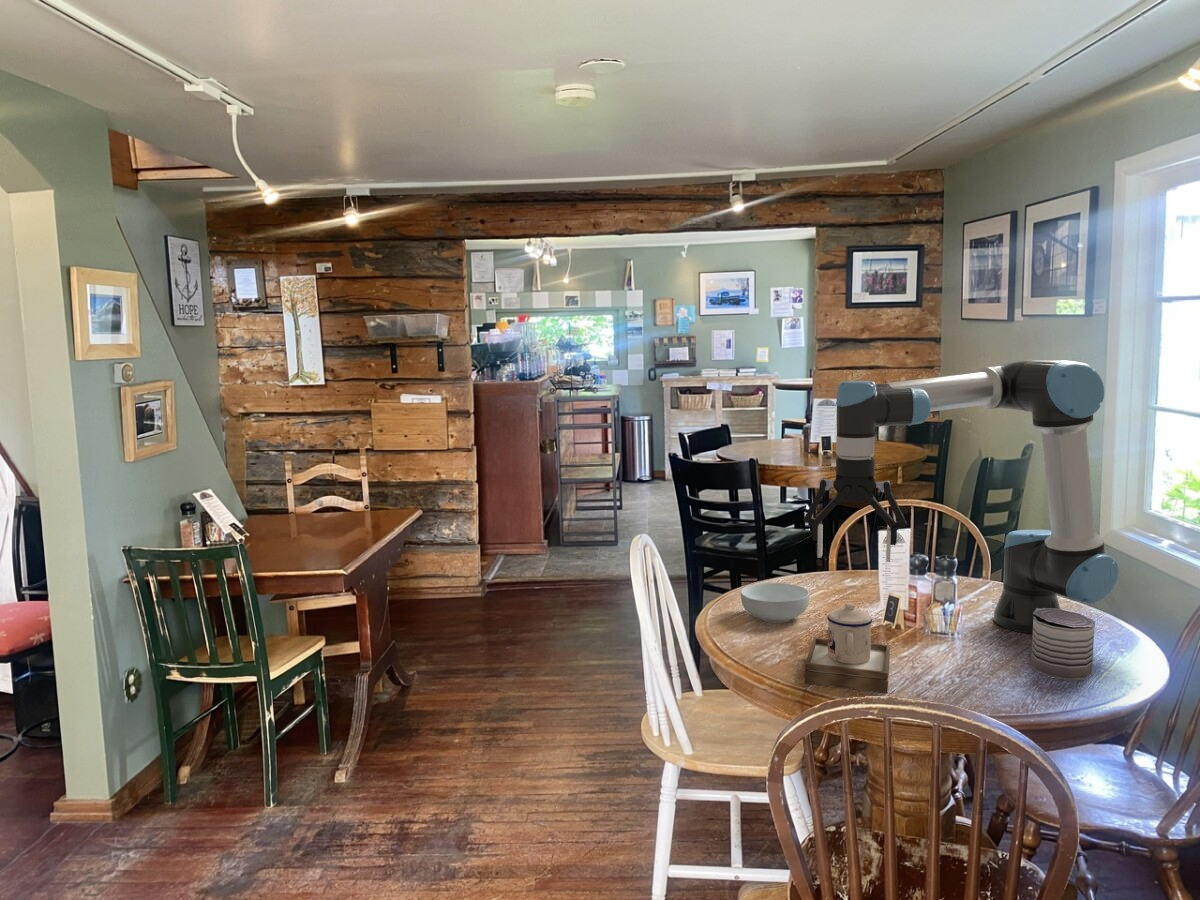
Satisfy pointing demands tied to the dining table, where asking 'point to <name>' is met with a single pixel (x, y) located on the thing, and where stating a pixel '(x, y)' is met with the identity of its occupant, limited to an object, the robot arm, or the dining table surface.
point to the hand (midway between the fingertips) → (853, 558)
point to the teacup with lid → (849, 635)
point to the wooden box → (848, 669)
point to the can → (1062, 644)
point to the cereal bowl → (775, 601)
